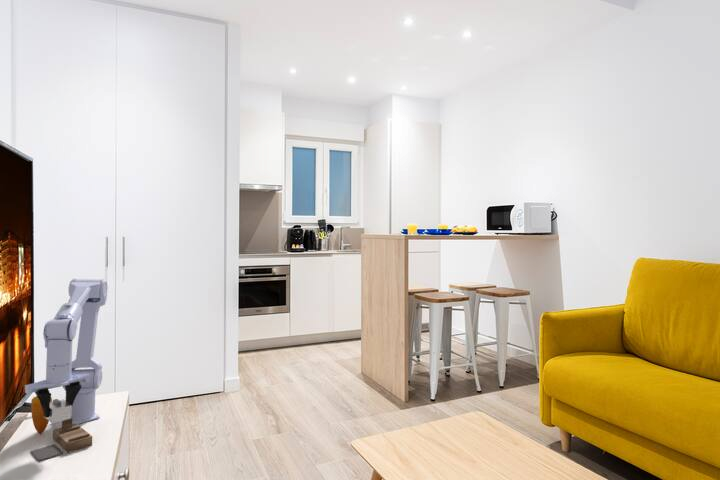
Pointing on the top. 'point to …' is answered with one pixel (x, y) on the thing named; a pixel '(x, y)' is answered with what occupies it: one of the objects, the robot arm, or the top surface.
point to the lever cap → (59, 411)
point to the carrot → (38, 415)
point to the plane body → (71, 436)
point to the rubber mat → (46, 452)
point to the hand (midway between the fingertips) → (57, 413)
